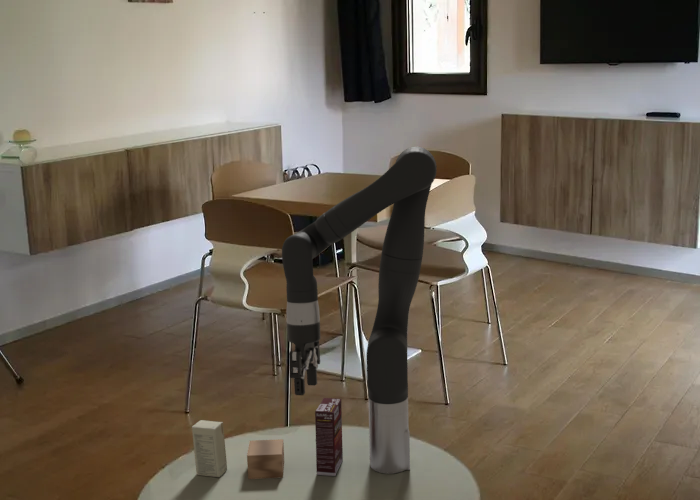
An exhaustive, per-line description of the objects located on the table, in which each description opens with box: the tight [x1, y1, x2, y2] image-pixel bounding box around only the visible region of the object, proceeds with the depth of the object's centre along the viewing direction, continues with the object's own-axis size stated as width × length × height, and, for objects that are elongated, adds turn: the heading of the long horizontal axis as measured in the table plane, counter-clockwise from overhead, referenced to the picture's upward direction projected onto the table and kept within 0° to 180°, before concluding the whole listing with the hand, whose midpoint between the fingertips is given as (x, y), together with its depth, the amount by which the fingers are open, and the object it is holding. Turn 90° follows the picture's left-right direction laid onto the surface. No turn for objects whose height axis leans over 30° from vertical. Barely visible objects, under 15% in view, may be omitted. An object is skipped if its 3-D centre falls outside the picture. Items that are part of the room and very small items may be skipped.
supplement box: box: [314, 397, 344, 477], centre depth 205 cm, size 9×5×16 cm, turn 168°
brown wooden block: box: [246, 438, 285, 480], centre depth 206 cm, size 8×8×6 cm
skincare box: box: [191, 419, 228, 478], centre depth 205 cm, size 6×4×12 cm
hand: (306, 389), depth 201 cm, fingers open, 8 cm apart
